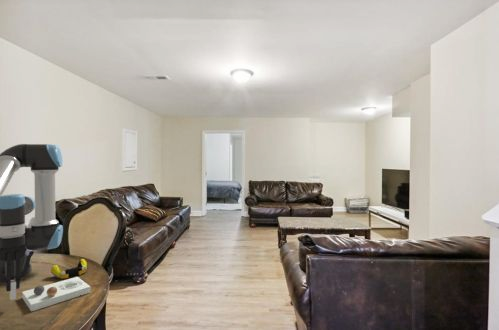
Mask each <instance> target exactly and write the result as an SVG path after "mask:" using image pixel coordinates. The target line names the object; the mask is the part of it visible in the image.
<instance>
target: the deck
mask: <svg viewBox="0 0 499 330" xmlns="http://www.w3.org/2000/svg"><path fill="white" fill-rule="evenodd" d="M42 286H43V287H44V292H43V293H42V294H40V295H36V294H35V293H34V289H35V288H32V289H27V290H24V291H21V292H22V293H21V297H22V298H21V299H22V300H23V301H24V303H25V304H26V306H27V307H28V309H29V311H30V312H34V311H38V310H40V309H43V308H47V307H50V306H52V305H56V304H60V303H62V302H66V301H68V300H72V299H74V298H78V297H81V296H84V295H87V294H90V293H91V290H92V289H91V286H90V285H89V284H88V283H87V282H85V281H84V280H82V279H81V278H80V276H73V277H70V278H66V279H64V280H60V281H57V282H53V283H50V284H45V285H42ZM50 287H56V288H57V293H56V294H55V295H54V296H48V295H47V290H48V289H49V288H50ZM80 295H81V296H80Z"/></svg>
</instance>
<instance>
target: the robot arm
mask: <svg viewBox="0 0 499 330" xmlns="http://www.w3.org/2000/svg"><path fill="white" fill-rule="evenodd" d="M62 166H63V155H62V152H61V148H60V147H59V146H58V145H56V144H48V143H46V144H45V143H43V144H39V143H36V144H32V143H31V144H30V143H29V144H27V143H20V144H16V145H12V146H10V147H8V148H7V149H5V150H4V151H2V152H0V284H3V283H4V284H5V290H6V292H9V299H10V300H11V301H13V300H17V290H18V289H20V281H21V279H24V278H25V277H26V276H27V274H29V273H31V272H32V269H33V268H32V266H33V265H32V263H31V258H32V256H33V255H34V253H35V251H43V250H52V249H56V248H59V246H60V244H61V242H62V238H63V233H64V226H63V225H62V224H60V222H59V220H58V219H56V173H57V172H58V171H59V168H61V167H62ZM20 168H30V172H31V173H33V174H34V199H33V198H32V197H31V196H25V195H24V194H22V193H15V194H13V193H12V194H4V193H5V190H6V189H7V187H8V185H9V183H10V181H11V179H12V178H13V176H14V174H15V172H18V171H19V170H20ZM33 211H34V221H33V222H32V223H31V225H30V227H28V225H27V224H26V215H29V214H31V213H32V212H33ZM12 279H13V280H12Z"/></svg>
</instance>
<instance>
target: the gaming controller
mask: <svg viewBox="0 0 499 330" xmlns="http://www.w3.org/2000/svg"><path fill="white" fill-rule="evenodd" d="M86 271H87V261H86V260H85V259H84V258H80V260H79V262H78V264H77V266H75V267H71V268H67V269H64V270H61V268H60V267H59V266H58V265H57V264H54V265H52V266H51V268H50V273H51V274H52V275H53V276H54V277H56V278H58V279H60V280H63V279H64V280H65V279H71V278H74V277H78V276H79V275H80V276H81V275H82V274H83V275H84V274H85V273H86Z"/></svg>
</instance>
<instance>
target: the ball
mask: <svg viewBox="0 0 499 330" xmlns="http://www.w3.org/2000/svg"><path fill="white" fill-rule="evenodd" d="M43 286H44V285H37V286H35V289H34V288H33V289H34V293H35V294H36V295H40V294H42V293H43V292H44V287H43Z"/></svg>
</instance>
